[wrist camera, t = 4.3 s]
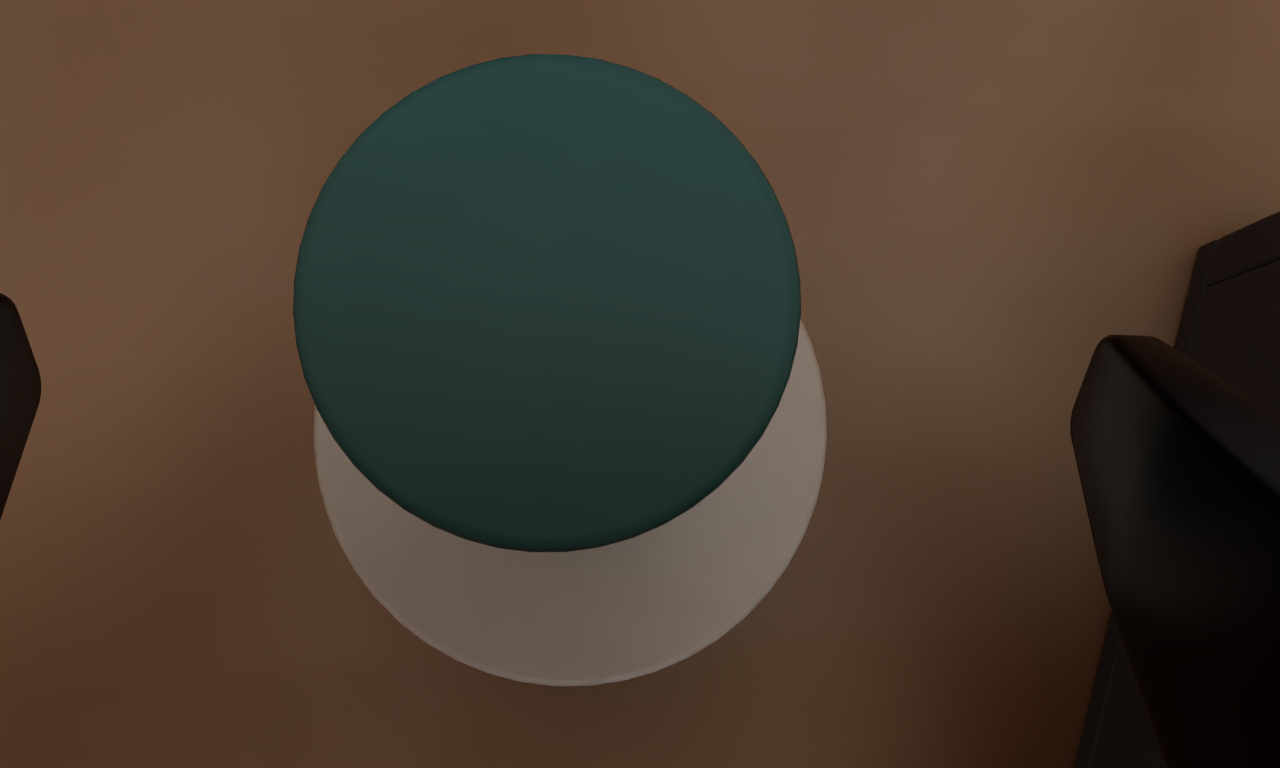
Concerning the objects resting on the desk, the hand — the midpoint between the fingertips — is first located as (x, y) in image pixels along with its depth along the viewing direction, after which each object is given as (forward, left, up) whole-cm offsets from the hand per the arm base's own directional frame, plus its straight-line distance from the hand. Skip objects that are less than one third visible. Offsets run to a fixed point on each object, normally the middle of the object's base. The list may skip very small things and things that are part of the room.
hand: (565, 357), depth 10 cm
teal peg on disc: (0, 0, -8) cm, 8 cm away
